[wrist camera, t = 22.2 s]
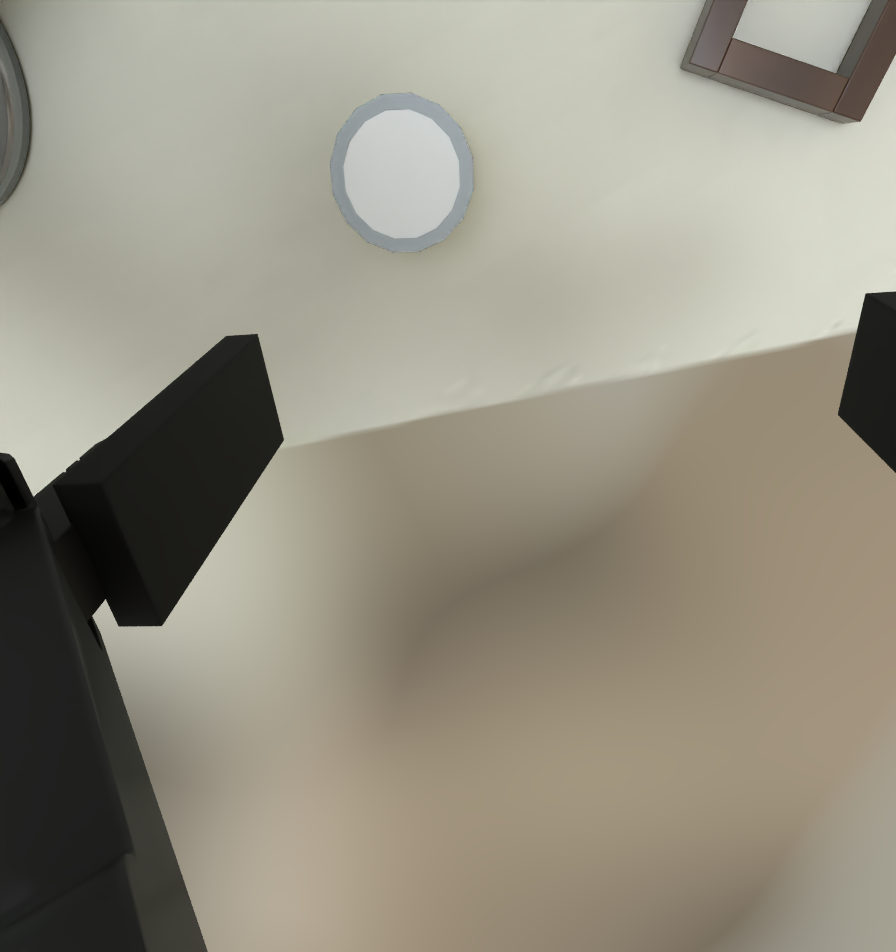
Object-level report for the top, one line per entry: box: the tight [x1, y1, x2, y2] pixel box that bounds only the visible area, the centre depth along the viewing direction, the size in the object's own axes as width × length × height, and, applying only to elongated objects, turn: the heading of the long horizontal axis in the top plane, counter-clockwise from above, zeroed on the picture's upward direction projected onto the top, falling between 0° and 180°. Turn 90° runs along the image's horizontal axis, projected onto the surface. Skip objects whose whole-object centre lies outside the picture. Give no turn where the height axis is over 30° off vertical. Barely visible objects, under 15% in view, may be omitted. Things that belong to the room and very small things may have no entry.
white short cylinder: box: [330, 93, 474, 252], centre depth 33 cm, size 7×7×7 cm
